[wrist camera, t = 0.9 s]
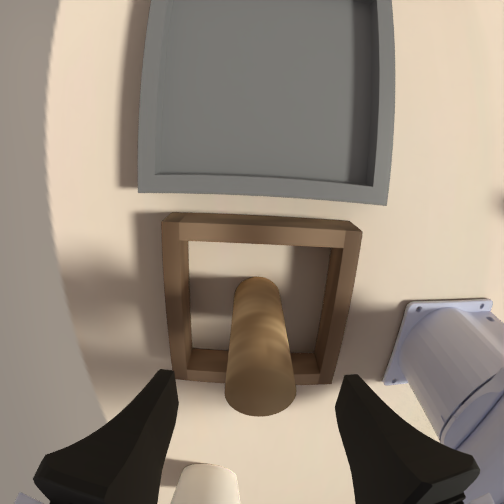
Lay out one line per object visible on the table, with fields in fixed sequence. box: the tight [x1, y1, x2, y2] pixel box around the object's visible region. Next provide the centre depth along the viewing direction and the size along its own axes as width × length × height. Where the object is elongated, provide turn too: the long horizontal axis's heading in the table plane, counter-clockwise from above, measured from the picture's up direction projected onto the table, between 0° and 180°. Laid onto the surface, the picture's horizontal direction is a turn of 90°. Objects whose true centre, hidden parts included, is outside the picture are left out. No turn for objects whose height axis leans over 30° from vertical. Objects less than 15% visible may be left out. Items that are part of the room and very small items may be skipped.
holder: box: [161, 212, 362, 385], centre depth 19 cm, size 11×11×2 cm
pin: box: [225, 277, 296, 416], centre depth 16 cm, size 3×3×9 cm
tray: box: [138, 0, 395, 206], centre depth 15 cm, size 14×14×2 cm
